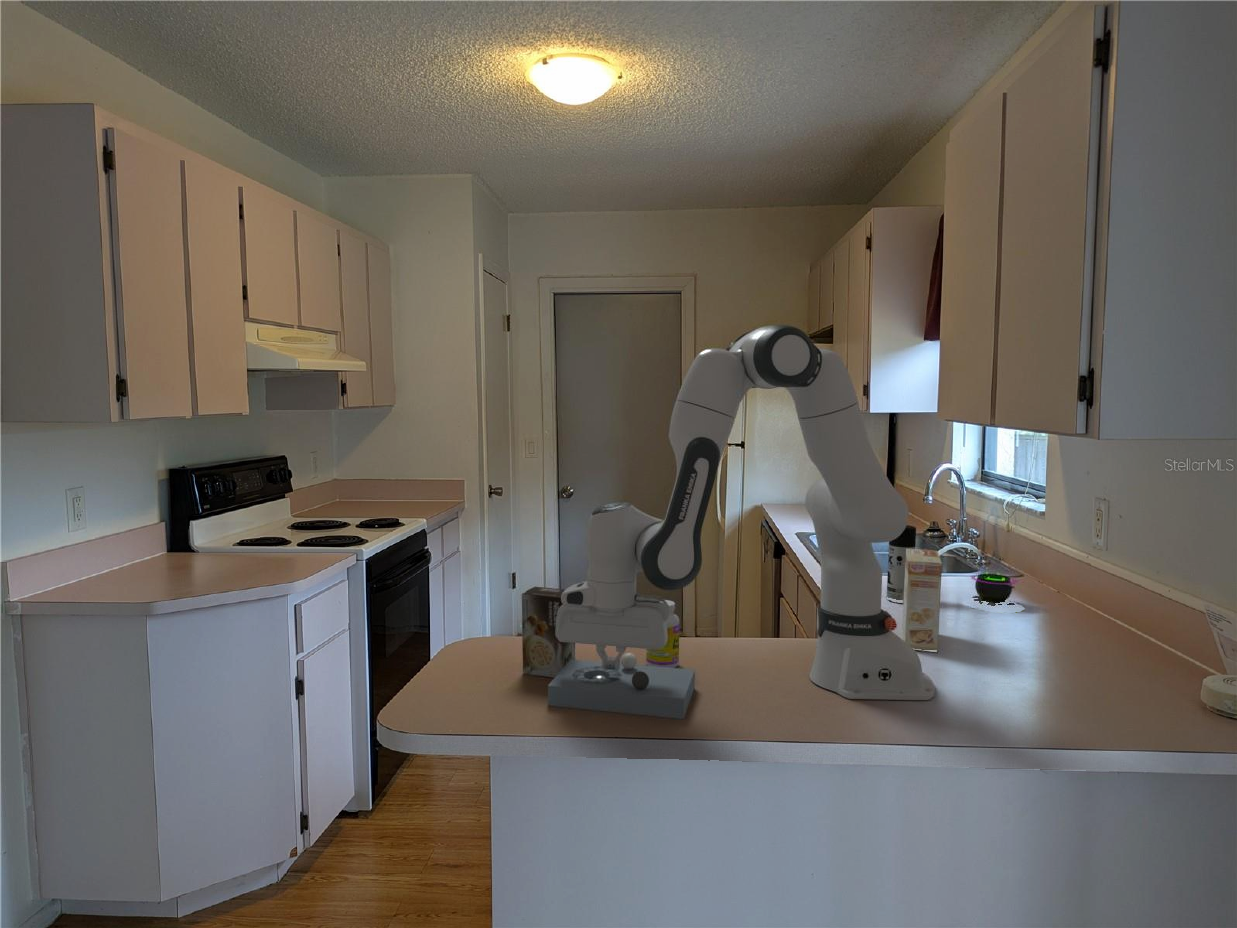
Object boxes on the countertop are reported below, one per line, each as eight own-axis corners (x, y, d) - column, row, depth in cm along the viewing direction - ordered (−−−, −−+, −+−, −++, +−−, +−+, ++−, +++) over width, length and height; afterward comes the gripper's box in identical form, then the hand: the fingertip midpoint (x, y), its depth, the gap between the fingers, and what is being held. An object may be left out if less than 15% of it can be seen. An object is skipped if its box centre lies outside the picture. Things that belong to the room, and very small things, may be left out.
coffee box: (577, 669, 155) (577, 589, 153) (563, 680, 149) (563, 597, 147) (535, 663, 158) (535, 585, 156) (520, 673, 152) (520, 593, 150)
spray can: (884, 596, 211) (886, 523, 209) (910, 597, 210) (913, 524, 208) (889, 603, 204) (892, 528, 203) (916, 604, 204) (919, 528, 202)
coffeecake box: (938, 653, 165) (943, 563, 163) (903, 649, 167) (906, 560, 166) (934, 633, 179) (938, 549, 177) (901, 629, 182) (905, 547, 180)
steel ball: (614, 678, 142) (597, 668, 143) (609, 685, 139) (592, 675, 140) (606, 694, 143) (589, 685, 144) (601, 702, 140) (584, 692, 140)
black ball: (650, 686, 136) (650, 669, 136) (647, 692, 133) (647, 675, 133) (633, 684, 137) (633, 668, 136) (630, 691, 134) (630, 674, 134)
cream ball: (638, 666, 146) (638, 651, 145) (635, 672, 143) (635, 656, 143) (622, 665, 146) (622, 649, 146) (619, 670, 143) (619, 655, 143)
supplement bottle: (676, 672, 153) (677, 608, 152) (643, 669, 154) (644, 606, 153) (680, 660, 160) (681, 599, 159) (648, 658, 161) (649, 597, 160)
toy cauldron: (1038, 611, 198) (1041, 569, 197) (988, 615, 194) (990, 572, 193) (996, 596, 213) (998, 556, 212) (948, 599, 209) (950, 559, 208)
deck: (694, 688, 145) (694, 669, 144) (683, 719, 131) (684, 698, 131) (570, 677, 150) (570, 659, 150) (547, 705, 136) (547, 685, 136)
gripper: (671, 592, 140) (670, 667, 141) (562, 585, 145) (562, 657, 146) (665, 601, 134) (665, 679, 135) (552, 594, 139) (552, 669, 140)
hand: (611, 668), depth 141 cm, fingers closed
